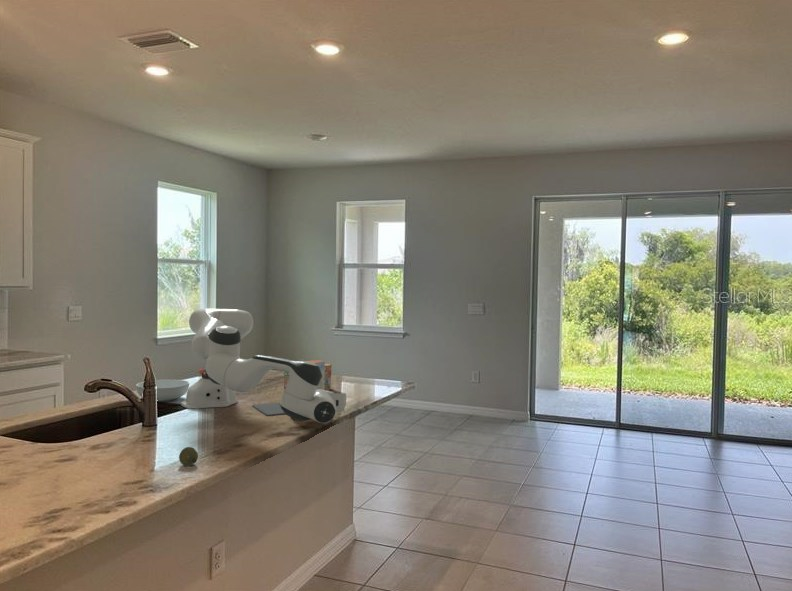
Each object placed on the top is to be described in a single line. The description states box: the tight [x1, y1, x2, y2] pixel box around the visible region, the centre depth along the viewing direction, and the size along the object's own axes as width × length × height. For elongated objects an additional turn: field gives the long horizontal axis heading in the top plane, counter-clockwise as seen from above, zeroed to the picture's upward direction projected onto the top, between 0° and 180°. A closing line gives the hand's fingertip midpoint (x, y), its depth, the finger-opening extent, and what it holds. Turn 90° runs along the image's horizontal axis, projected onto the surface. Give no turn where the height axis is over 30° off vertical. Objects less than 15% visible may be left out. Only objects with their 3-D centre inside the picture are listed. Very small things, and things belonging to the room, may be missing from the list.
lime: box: [178, 446, 199, 467], centre depth 166 cm, size 4×5×5 cm
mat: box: [252, 402, 286, 417], centre depth 237 cm, size 20×18×1 cm
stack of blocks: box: [283, 363, 332, 391], centre depth 279 cm, size 21×6×12 cm, turn 83°
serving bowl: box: [135, 379, 190, 403], centre depth 247 cm, size 21×21×7 cm
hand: (316, 395), depth 216 cm, fingers open, 8 cm apart
